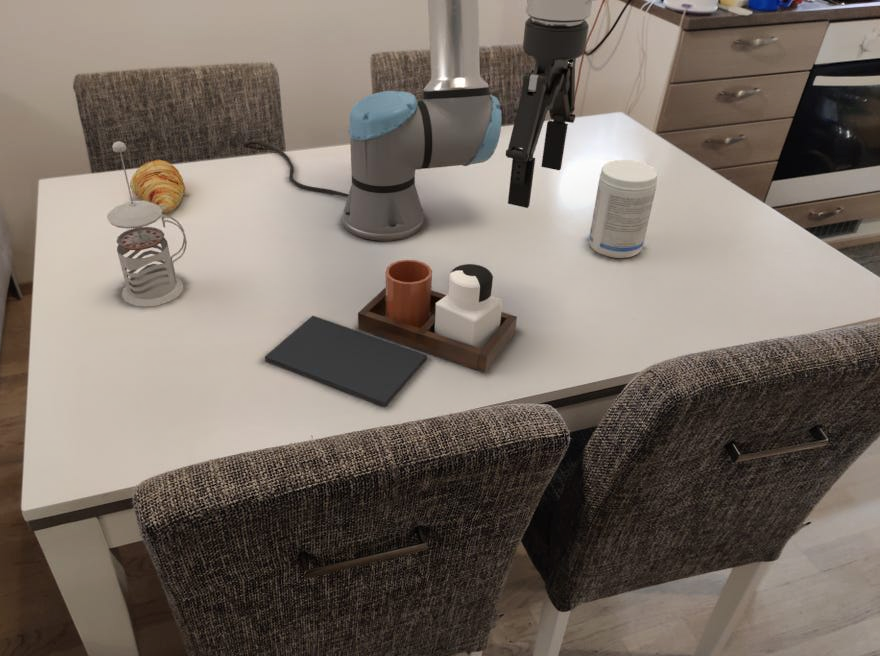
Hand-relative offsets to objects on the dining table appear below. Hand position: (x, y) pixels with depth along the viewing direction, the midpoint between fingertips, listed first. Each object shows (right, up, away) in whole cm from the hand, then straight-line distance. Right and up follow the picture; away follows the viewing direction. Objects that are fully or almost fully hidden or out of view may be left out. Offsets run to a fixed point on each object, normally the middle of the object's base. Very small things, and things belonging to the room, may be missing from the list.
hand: (535, 185), depth 100 cm
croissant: (-67, +9, +47) cm, 83 cm away
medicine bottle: (-9, -21, +9) cm, 25 cm away
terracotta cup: (-17, -18, +13) cm, 28 cm away
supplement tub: (+20, -4, +32) cm, 38 cm away
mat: (-26, -24, +5) cm, 36 cm away
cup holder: (-13, -19, +11) cm, 26 cm away
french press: (-58, -12, +20) cm, 63 cm away
